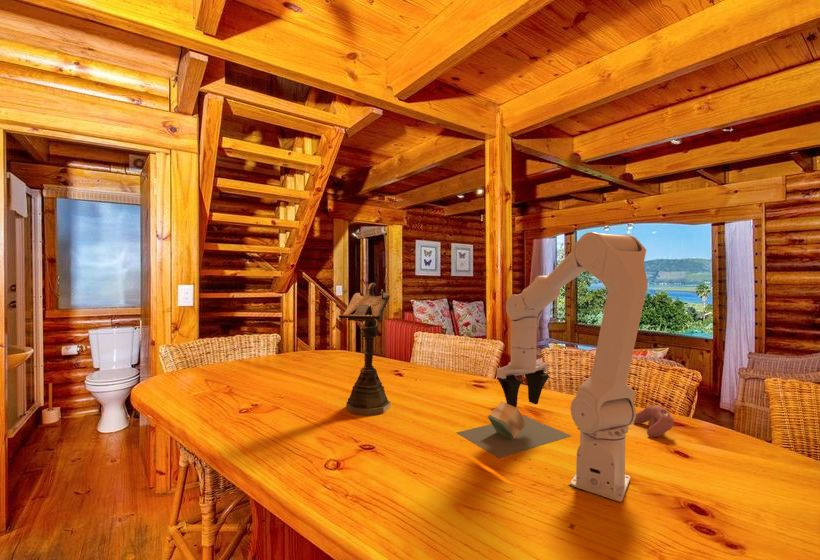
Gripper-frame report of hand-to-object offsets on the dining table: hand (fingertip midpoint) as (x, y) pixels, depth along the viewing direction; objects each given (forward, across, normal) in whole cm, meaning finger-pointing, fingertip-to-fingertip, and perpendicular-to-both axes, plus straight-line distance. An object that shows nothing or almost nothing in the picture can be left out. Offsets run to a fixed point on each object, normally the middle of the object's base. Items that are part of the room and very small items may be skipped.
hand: (522, 405), depth 88 cm
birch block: (+1, +3, 0) cm, 3 cm away
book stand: (+7, +25, -31) cm, 41 cm away
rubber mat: (+7, +3, 0) cm, 7 cm away
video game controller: (+7, -30, +13) cm, 33 cm away
